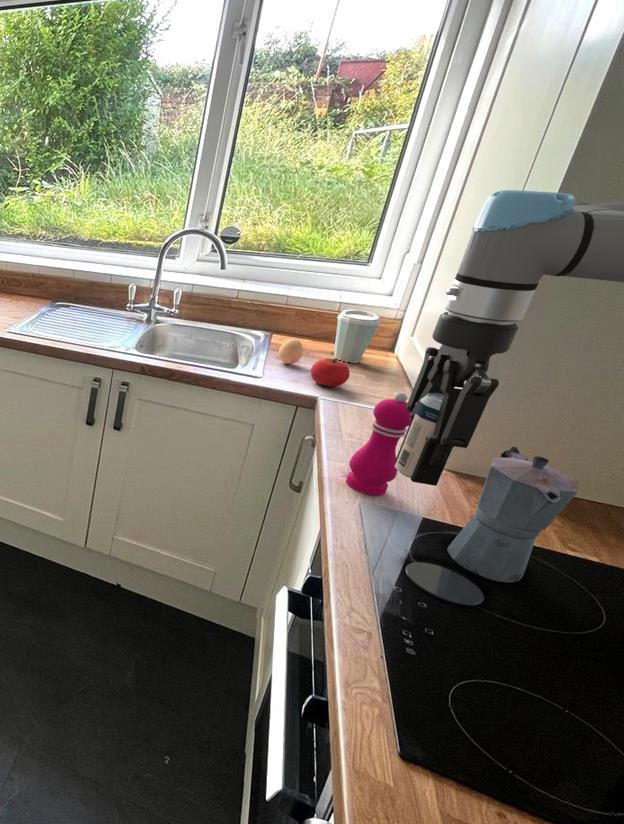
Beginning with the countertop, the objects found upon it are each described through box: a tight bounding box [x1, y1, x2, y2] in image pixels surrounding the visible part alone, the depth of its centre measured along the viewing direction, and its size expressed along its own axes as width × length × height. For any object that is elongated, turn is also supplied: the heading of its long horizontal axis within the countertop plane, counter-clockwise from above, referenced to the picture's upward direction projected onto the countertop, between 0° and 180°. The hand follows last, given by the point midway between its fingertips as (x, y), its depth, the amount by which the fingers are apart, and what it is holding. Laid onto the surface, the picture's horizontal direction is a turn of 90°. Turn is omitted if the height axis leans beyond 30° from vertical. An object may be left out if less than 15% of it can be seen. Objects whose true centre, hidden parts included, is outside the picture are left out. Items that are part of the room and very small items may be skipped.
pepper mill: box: [345, 392, 412, 497], centre depth 108 cm, size 7×7×20 cm
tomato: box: [310, 357, 351, 388], centre depth 160 cm, size 9×9×8 cm
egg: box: [278, 338, 304, 365], centre depth 175 cm, size 6×6×8 cm
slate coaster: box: [404, 561, 485, 607], centre depth 87 cm, size 9×9×1 cm
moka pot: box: [446, 446, 578, 584], centre depth 89 cm, size 10×15×20 cm, turn 159°
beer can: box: [395, 393, 444, 479], centre depth 81 cm, size 5×5×12 cm
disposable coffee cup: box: [333, 309, 382, 364], centre depth 179 cm, size 11×11×15 cm
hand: (415, 472), depth 83 cm, fingers closed on beer can, 5 cm apart
